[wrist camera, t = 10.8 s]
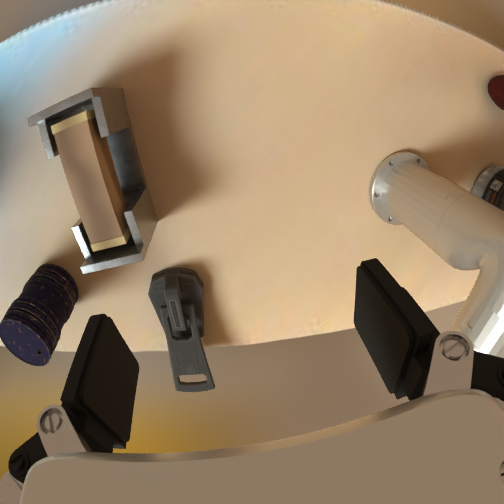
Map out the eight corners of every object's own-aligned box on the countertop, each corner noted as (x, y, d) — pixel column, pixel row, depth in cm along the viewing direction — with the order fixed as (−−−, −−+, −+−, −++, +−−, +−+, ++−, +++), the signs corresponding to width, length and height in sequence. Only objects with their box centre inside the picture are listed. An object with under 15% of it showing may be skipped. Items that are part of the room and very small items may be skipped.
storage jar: (32, 294, 45) (-1, 348, 32) (36, 254, 42) (-5, 308, 29) (75, 315, 49) (49, 374, 36) (83, 277, 45) (52, 339, 32)
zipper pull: (173, 393, 53) (138, 295, 40) (175, 368, 59) (146, 270, 46) (218, 391, 54) (199, 290, 41) (217, 365, 59) (200, 265, 47)
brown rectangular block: (100, 108, 29) (85, 111, 25) (134, 226, 37) (126, 243, 33) (68, 121, 29) (50, 126, 25) (104, 234, 37) (93, 251, 33)
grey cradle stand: (122, 88, 32) (91, 88, 23) (157, 221, 42) (143, 260, 33) (68, 109, 32) (27, 118, 22) (107, 234, 42) (83, 274, 33)
